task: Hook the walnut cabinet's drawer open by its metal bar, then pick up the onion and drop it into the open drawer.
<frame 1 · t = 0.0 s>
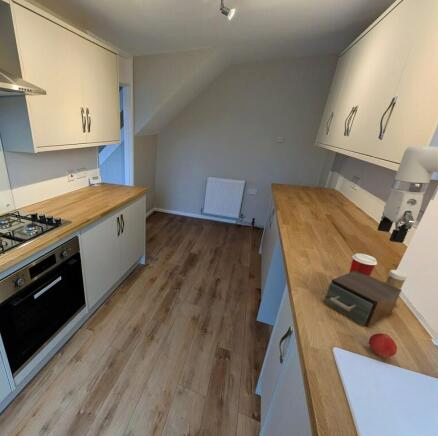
hand: (389, 236, 81), 29 cm above the counter, tool pointing down, fingers open, 9 cm apart
sprinkles bottle: (385, 302, 92), on the counter
cabinet: (356, 307, 89), on the counter
drawer: (353, 299, 85), point 5 cm above the counter, slide at 0.8 cm
paper cup: (354, 286, 102), on the counter
onion: (377, 355, 70), on the counter
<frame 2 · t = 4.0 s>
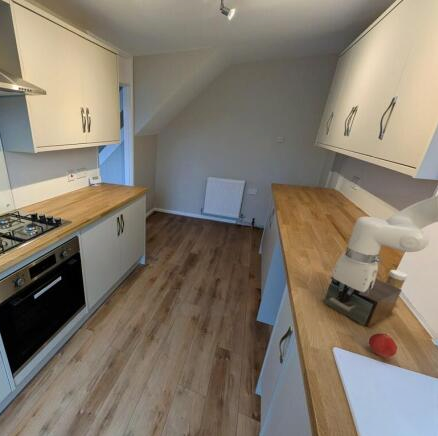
hand: (343, 301, 82), 7 cm above the counter, tool pointing down, fingers closed
drawer: (353, 299, 85), point 5 cm above the counter, slide at 0.8 cm, touching gripper
everything else where it was.
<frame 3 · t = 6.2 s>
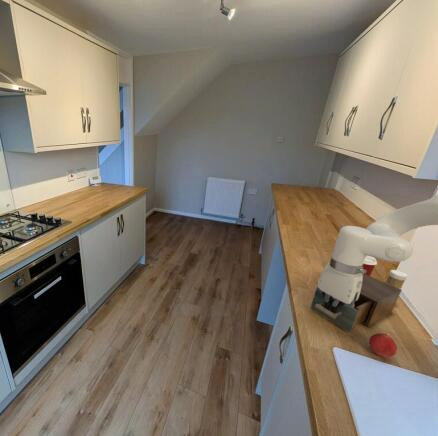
hand: (329, 312, 80), 5 cm above the counter, tool pointing down, fingers closed
drawer: (340, 306, 82), point 5 cm above the counter, slide at 8.9 cm
everything else where it was.
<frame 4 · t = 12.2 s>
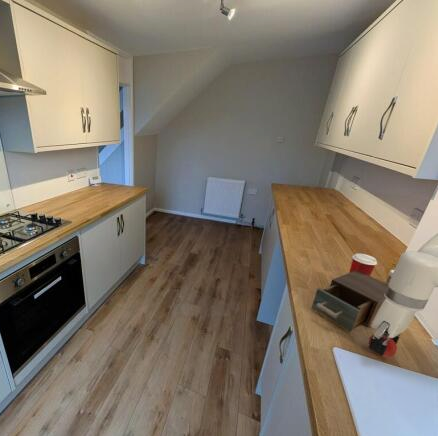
hand: (381, 347, 69), 3 cm above the counter, tool pointing down, fingers closed on onion, 5 cm apart
drawer: (341, 305, 82), point 5 cm above the counter, slide at 8.3 cm
onion: (377, 355, 70), on the counter, touching gripper
everything else where it was.
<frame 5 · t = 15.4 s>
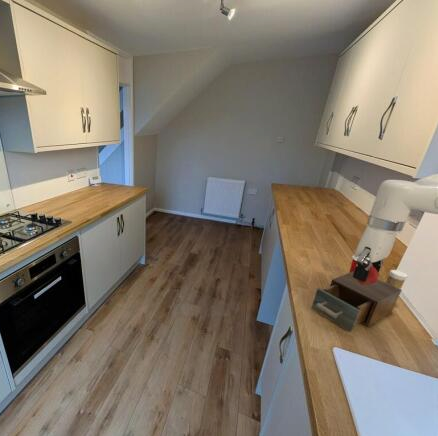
hand: (364, 276, 74), 19 cm above the counter, tool pointing down, fingers closed on onion, 5 cm apart
onion: (361, 284, 75), point 16 cm above the counter, touching gripper
everything else where it was.
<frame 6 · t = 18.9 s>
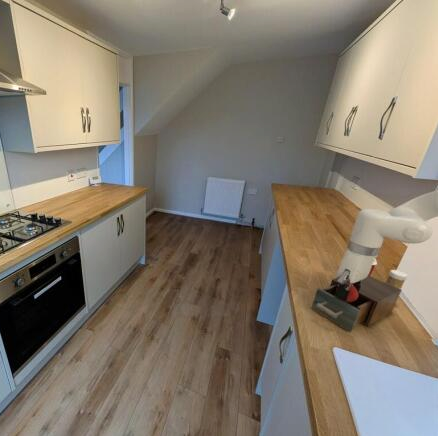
hand: (346, 294, 81), 10 cm above the counter, tool pointing down, fingers closed on onion, 5 cm apart
onion: (343, 302, 82), point 7 cm above the counter, touching gripper
everything else where it was.
when the fingers open (10 cm above the counter, at t = 23.5 s): onion drops 4 cm, resting on drawer.
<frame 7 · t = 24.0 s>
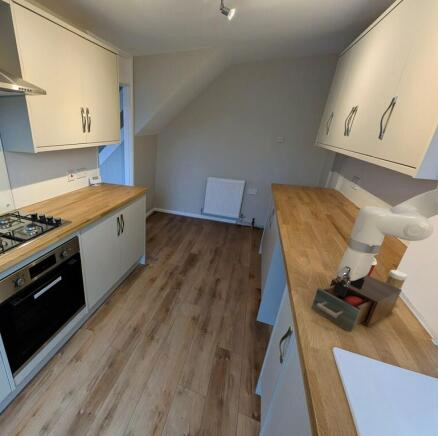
hand: (347, 290, 80), 11 cm above the counter, tool pointing down, fingers open, 9 cm apart
drawer: (341, 305, 83), point 5 cm above the counter, slide at 8.2 cm, touching onion
onion: (342, 309, 83), point 3 cm above the counter, touching drawer
everything else where it was.
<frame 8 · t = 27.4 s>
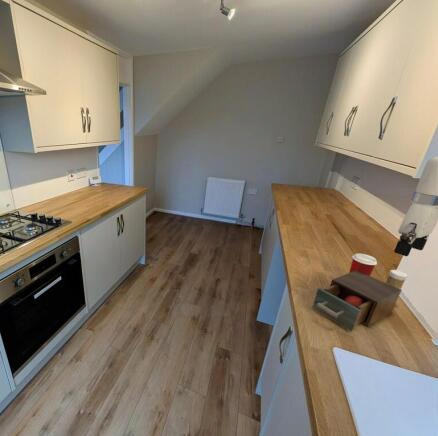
hand: (408, 251, 76), 26 cm above the counter, tool pointing down, fingers open, 9 cm apart
onion: (343, 306, 83), point 4 cm above the counter, touching drawer
everything else where it was.
at the end: drawer slide at 7.9 cm; onion inside the target area in the drawer (0.2 cm from its centre), point 4.1 cm above the cabinet's base; the gripper is holding nothing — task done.
